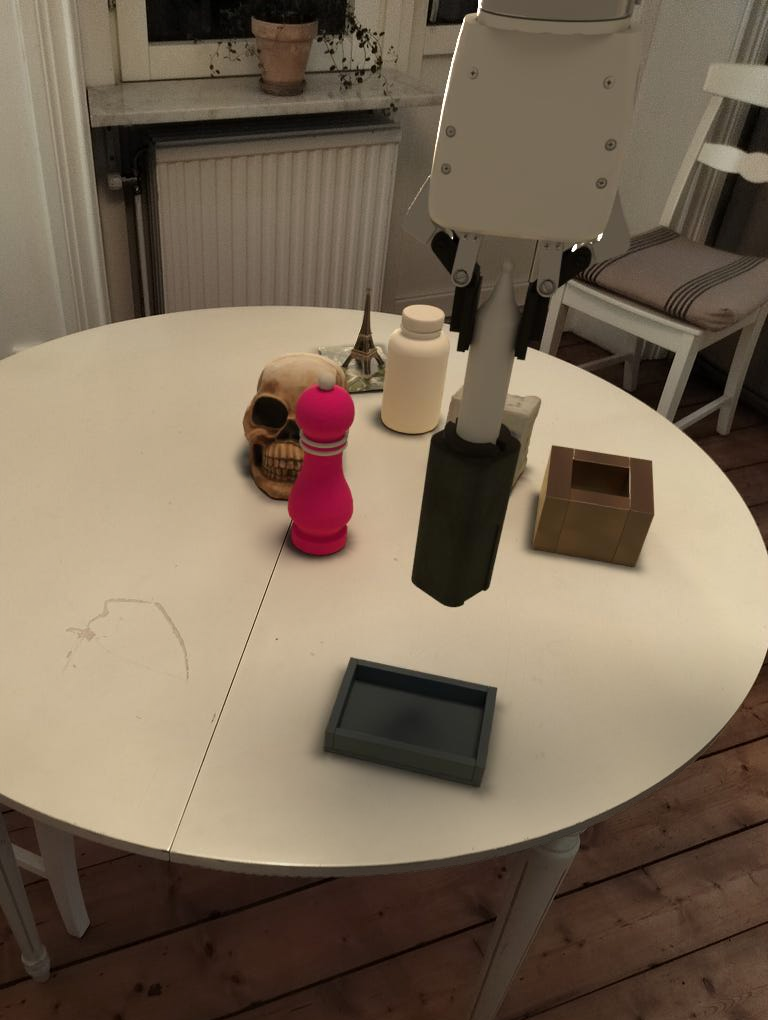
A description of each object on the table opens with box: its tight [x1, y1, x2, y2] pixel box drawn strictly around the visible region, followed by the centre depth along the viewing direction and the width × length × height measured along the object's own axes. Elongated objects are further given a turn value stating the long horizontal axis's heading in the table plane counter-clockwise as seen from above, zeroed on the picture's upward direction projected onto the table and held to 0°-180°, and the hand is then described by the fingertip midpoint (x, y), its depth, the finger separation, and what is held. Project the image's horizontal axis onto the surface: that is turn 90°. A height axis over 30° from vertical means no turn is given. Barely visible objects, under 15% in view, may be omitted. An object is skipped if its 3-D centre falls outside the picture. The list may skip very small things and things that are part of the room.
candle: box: [410, 257, 523, 608], centre depth 60 cm, size 5×5×25 cm
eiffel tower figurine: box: [318, 279, 387, 393], centre depth 124 cm, size 15×10×13 cm
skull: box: [242, 351, 350, 500], centre depth 107 cm, size 16×17×13 cm
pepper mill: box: [287, 372, 356, 556], centre depth 91 cm, size 7×7×20 cm
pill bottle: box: [380, 304, 451, 434], centre depth 113 cm, size 8×8×15 cm
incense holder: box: [445, 385, 542, 488], centre depth 105 cm, size 10×8×10 cm
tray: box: [323, 656, 498, 788], centre depth 76 cm, size 14×10×2 cm
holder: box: [531, 444, 655, 568], centre depth 97 cm, size 11×11×7 cm
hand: (493, 344), depth 55 cm, fingers closed on candle, 3 cm apart
